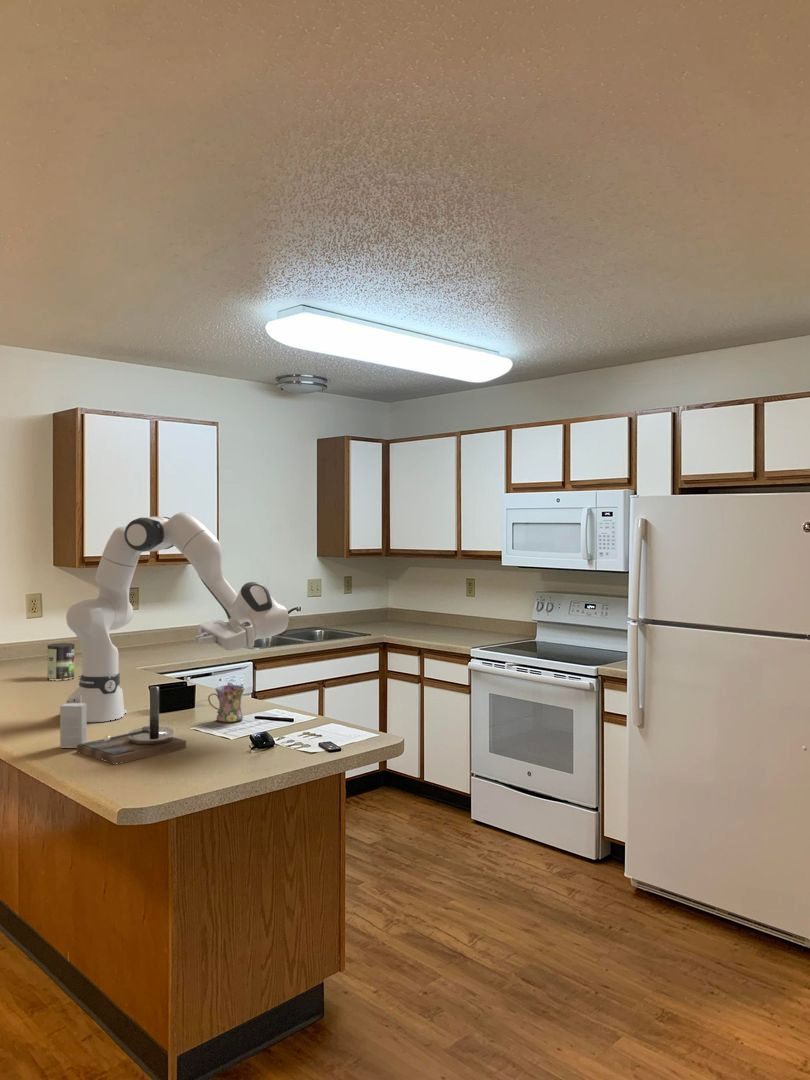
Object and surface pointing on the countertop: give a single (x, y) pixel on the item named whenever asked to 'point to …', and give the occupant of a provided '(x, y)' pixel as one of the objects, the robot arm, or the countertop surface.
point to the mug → (229, 702)
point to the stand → (127, 749)
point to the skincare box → (73, 725)
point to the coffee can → (60, 660)
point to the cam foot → (152, 732)
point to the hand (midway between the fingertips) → (196, 641)
